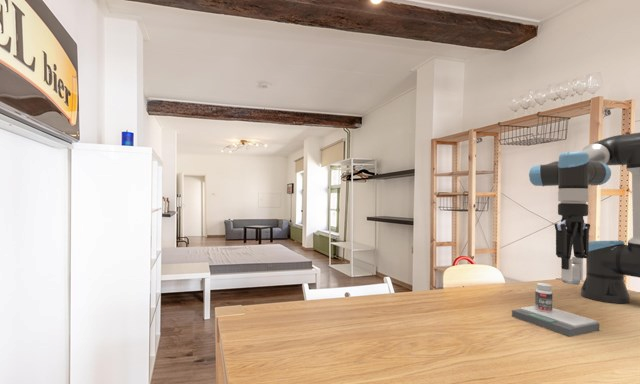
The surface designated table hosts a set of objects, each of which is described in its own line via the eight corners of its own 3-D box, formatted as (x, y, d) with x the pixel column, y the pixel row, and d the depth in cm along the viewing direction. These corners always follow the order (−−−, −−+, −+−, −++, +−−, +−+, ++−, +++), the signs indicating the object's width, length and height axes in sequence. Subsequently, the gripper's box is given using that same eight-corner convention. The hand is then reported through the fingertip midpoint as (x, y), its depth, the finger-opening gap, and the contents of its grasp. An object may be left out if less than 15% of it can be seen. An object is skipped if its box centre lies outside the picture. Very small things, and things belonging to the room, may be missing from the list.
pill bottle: (538, 311, 111) (538, 285, 112) (532, 307, 116) (532, 282, 116) (555, 313, 111) (555, 286, 111) (548, 308, 115) (548, 283, 115)
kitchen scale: (540, 311, 120) (540, 304, 120) (599, 330, 103) (599, 321, 103) (511, 316, 114) (512, 308, 114) (569, 336, 98) (569, 327, 98)
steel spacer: (583, 284, 105) (583, 264, 105) (573, 285, 103) (574, 264, 103) (568, 280, 109) (568, 261, 109) (558, 281, 107) (559, 261, 107)
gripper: (577, 203, 113) (576, 275, 112) (541, 202, 106) (541, 278, 106) (603, 203, 106) (603, 280, 106) (567, 202, 99) (566, 284, 99)
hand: (572, 279), depth 106 cm, fingers closed on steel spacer, 4 cm apart
